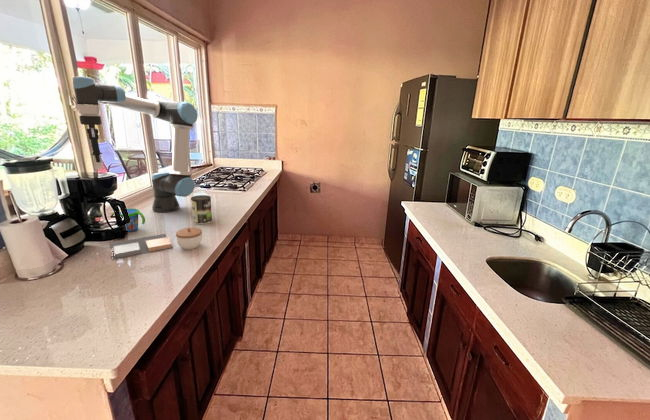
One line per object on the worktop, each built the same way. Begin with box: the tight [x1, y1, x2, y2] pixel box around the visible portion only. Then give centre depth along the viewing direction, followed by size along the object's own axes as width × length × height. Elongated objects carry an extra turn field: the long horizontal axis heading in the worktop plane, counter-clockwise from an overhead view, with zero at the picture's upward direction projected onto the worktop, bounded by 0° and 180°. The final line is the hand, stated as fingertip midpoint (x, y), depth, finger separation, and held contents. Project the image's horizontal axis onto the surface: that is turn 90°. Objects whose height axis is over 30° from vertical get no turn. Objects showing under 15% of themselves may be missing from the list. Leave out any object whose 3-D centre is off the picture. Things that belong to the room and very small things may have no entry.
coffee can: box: [190, 194, 213, 225], centre depth 170 cm, size 10×10×14 cm
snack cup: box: [110, 207, 146, 233], centre depth 154 cm, size 16×10×10 cm
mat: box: [108, 233, 174, 261], centre depth 137 cm, size 20×23×1 cm
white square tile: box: [114, 242, 141, 258], centre depth 130 cm, size 2×9×9 cm
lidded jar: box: [175, 227, 203, 250], centre depth 137 cm, size 11×11×9 cm
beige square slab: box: [146, 236, 172, 252], centre depth 137 cm, size 2×9×9 cm
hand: (99, 168), depth 139 cm, fingers closed
